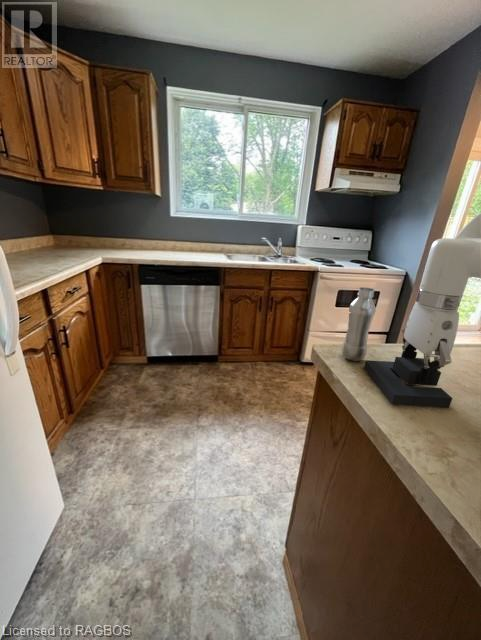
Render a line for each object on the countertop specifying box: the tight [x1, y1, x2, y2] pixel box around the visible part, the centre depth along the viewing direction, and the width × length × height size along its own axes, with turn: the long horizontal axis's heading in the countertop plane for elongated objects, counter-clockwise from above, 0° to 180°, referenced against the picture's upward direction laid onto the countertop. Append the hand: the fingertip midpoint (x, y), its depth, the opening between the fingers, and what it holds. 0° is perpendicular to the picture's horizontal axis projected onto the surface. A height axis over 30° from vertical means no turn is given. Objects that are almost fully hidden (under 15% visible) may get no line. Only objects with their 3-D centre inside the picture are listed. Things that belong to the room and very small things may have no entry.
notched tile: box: [363, 359, 453, 409], centre depth 64 cm, size 12×15×2 cm
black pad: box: [393, 356, 442, 387], centre depth 63 cm, size 7×7×4 cm
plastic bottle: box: [341, 287, 377, 362], centre depth 73 cm, size 6×7×20 cm
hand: (414, 373), depth 63 cm, fingers closed on black pad, 6 cm apart
